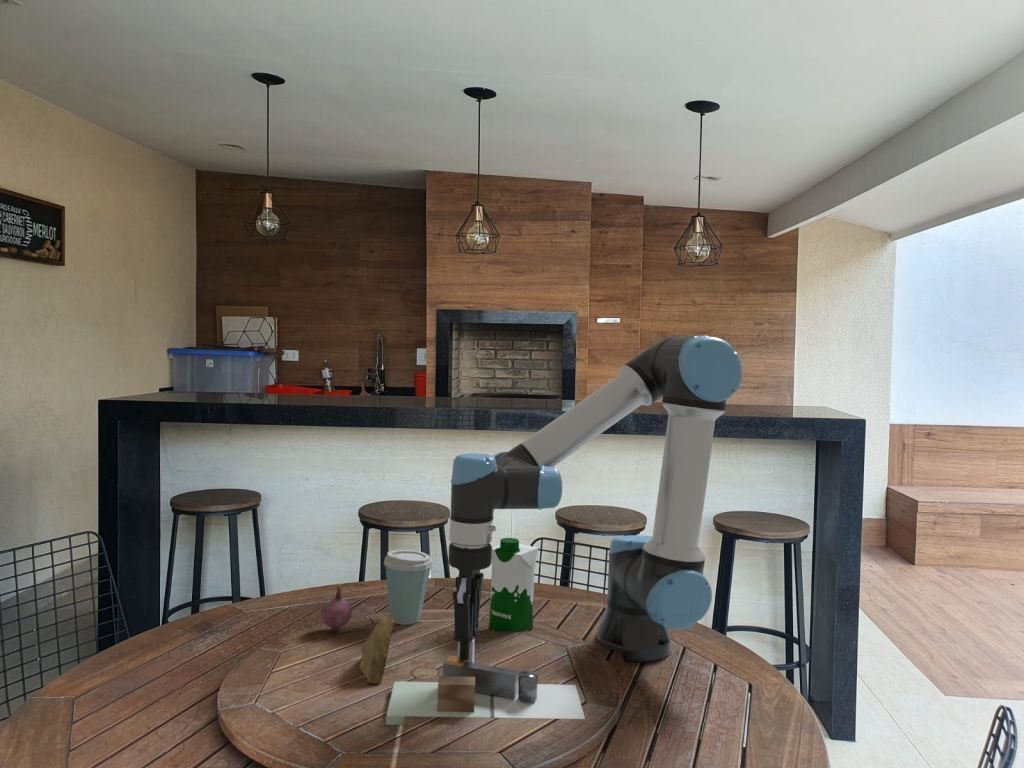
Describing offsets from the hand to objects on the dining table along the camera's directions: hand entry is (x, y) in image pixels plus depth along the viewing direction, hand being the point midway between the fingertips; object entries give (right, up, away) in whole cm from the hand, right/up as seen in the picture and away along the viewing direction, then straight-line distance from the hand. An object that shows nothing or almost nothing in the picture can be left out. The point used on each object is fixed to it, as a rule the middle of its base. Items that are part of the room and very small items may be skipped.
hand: (465, 674), depth 130 cm
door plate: (+4, -4, -5) cm, 7 cm away
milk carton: (+8, -2, +30) cm, 31 cm away
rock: (-18, -2, +7) cm, 19 cm away
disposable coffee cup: (-15, -1, +33) cm, 36 cm away
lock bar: (+4, -2, -3) cm, 6 cm away
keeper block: (-1, -2, -8) cm, 9 cm away
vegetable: (-29, -1, +25) cm, 38 cm away
